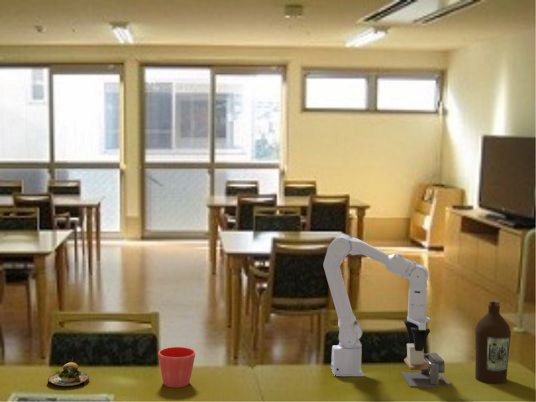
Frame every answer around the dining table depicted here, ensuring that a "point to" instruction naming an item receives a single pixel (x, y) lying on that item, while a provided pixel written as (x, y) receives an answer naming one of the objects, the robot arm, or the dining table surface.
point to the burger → (69, 376)
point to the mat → (417, 379)
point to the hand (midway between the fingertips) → (415, 347)
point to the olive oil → (492, 346)
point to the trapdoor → (433, 358)
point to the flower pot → (176, 365)
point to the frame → (434, 373)
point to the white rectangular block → (414, 355)
